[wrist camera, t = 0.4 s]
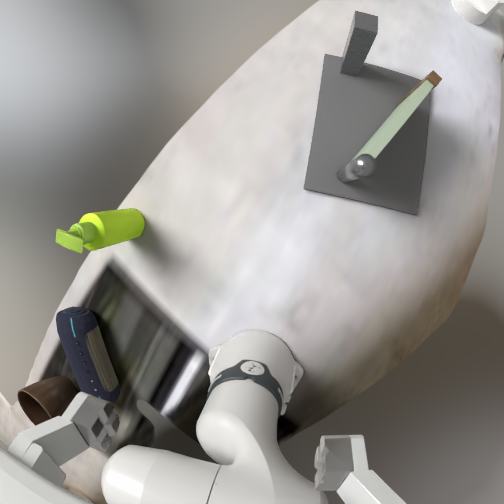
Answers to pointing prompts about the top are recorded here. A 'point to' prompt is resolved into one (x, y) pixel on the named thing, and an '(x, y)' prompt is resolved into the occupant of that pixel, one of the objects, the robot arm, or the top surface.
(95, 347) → the portable speaker
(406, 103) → the gate leaf
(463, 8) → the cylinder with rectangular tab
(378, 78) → the gate frame
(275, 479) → the robot arm
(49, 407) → the plant pot
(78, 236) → the soap dispenser
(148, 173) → the top surface
